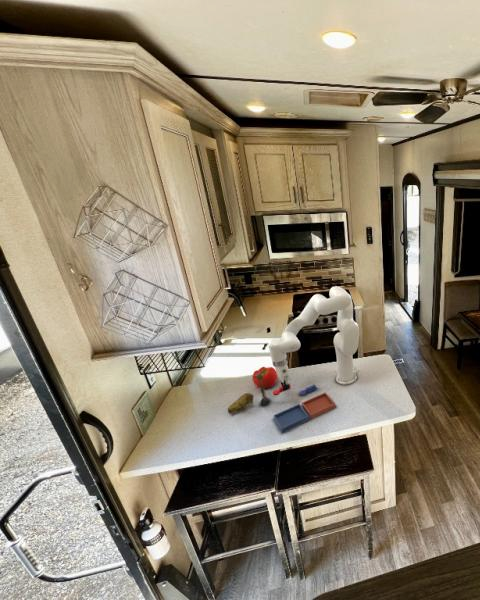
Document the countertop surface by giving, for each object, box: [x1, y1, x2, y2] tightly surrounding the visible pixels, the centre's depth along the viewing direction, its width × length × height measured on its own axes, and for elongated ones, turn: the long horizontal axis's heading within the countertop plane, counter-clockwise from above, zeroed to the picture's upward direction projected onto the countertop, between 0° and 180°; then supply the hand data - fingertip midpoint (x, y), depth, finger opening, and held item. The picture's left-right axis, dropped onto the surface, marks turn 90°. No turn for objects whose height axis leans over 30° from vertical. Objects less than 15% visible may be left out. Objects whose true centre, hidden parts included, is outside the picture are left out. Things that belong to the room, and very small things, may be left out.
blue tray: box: [273, 403, 310, 434], centre depth 171 cm, size 14×12×3 cm
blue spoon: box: [299, 384, 317, 397], centre depth 191 cm, size 10×4×2 cm, turn 128°
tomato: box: [252, 366, 278, 389], centre depth 196 cm, size 14×13×10 cm
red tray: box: [301, 392, 337, 420], centre depth 179 cm, size 14×12×3 cm
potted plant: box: [252, 373, 271, 407], centre depth 179 cm, size 6×5×20 cm
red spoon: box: [272, 383, 292, 397], centre depth 180 cm, size 10×4×2 cm, turn 128°
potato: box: [227, 392, 254, 414], centre depth 178 cm, size 8×13×8 cm, turn 109°
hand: (285, 388), depth 182 cm, fingers closed on red spoon, 1 cm apart
